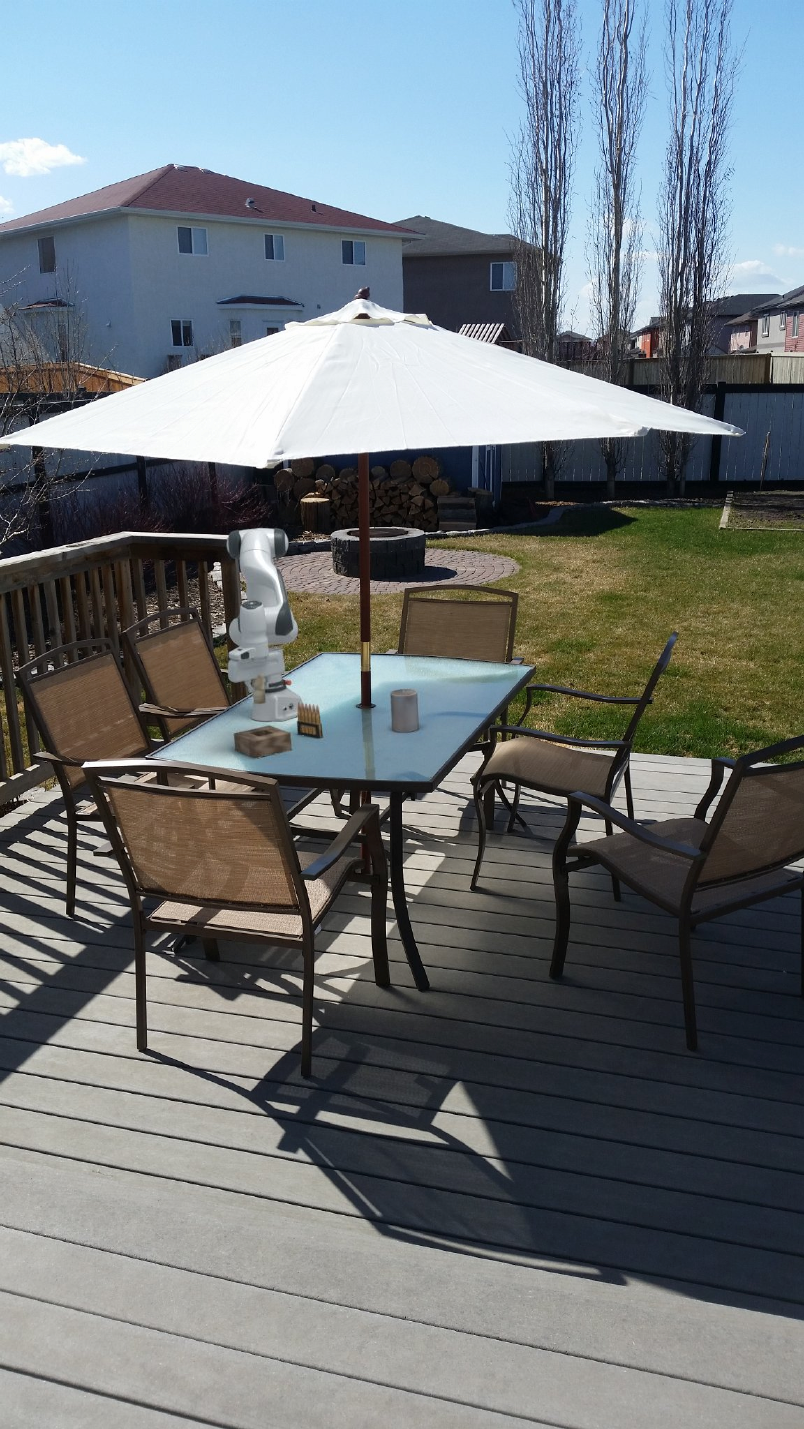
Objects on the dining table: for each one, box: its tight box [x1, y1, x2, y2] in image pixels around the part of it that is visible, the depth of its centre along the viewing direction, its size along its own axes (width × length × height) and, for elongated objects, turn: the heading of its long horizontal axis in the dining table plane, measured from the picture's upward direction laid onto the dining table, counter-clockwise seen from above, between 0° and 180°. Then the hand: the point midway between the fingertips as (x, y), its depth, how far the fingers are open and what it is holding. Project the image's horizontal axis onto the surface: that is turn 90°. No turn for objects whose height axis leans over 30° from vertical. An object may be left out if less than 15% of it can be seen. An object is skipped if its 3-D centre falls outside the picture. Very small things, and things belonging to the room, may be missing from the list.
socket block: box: [233, 724, 293, 759], centre depth 364 cm, size 14×14×6 cm
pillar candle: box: [390, 688, 420, 734], centre depth 380 cm, size 10×10×15 cm
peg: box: [251, 674, 266, 704], centre depth 359 cm, size 4×4×10 cm
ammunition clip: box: [296, 702, 324, 740], centre depth 377 cm, size 11×2×12 cm, turn 52°
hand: (258, 690), depth 359 cm, fingers closed on peg, 4 cm apart
